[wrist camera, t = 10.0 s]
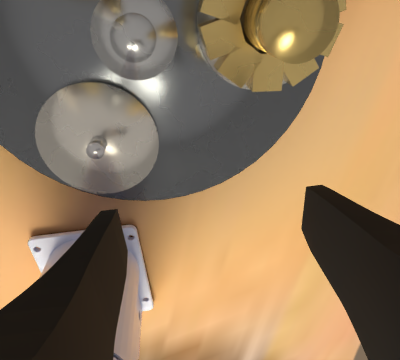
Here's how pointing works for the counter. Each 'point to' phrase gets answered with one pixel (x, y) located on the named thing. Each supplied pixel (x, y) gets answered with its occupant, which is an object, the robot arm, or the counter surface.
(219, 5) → the planet gear
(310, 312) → the counter surface
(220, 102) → the carrier
